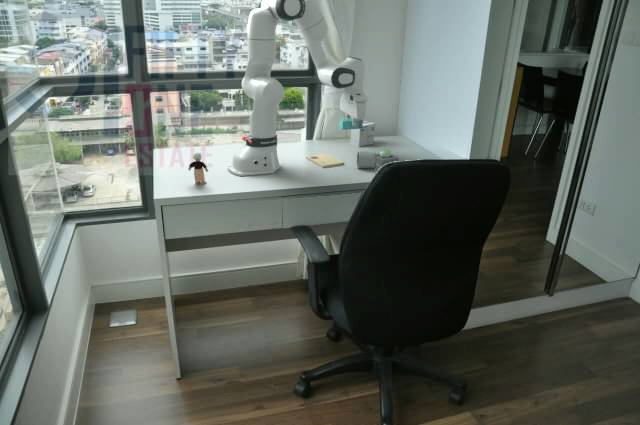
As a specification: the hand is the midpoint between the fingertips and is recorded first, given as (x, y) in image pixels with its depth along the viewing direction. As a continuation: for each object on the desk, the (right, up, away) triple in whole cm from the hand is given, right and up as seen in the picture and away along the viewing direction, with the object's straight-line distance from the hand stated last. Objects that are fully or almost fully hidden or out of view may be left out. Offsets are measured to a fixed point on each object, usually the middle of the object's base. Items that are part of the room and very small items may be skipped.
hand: (350, 124), depth 233 cm
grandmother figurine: (-62, -29, -34) cm, 76 cm away
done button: (+15, -16, -4) cm, 22 cm away
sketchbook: (-12, -17, -4) cm, 22 cm away
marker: (0, -1, +1) cm, 2 cm away
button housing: (+15, -18, -3) cm, 23 cm away
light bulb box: (+7, -6, +23) cm, 25 cm away
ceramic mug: (+6, -21, -9) cm, 23 cm away
